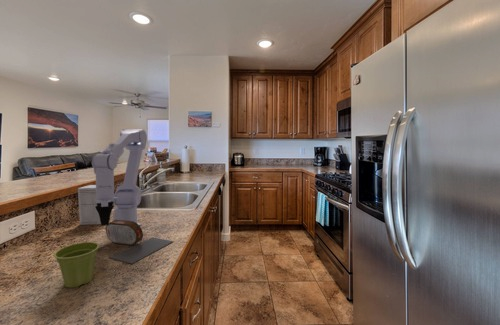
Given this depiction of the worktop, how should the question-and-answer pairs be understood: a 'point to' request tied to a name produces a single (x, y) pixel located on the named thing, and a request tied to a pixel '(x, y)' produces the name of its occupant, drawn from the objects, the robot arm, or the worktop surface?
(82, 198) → the supplement box
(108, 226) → the tin
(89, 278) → the plant pot
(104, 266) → the worktop surface
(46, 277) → the worktop surface
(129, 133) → the robot arm
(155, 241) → the mat
